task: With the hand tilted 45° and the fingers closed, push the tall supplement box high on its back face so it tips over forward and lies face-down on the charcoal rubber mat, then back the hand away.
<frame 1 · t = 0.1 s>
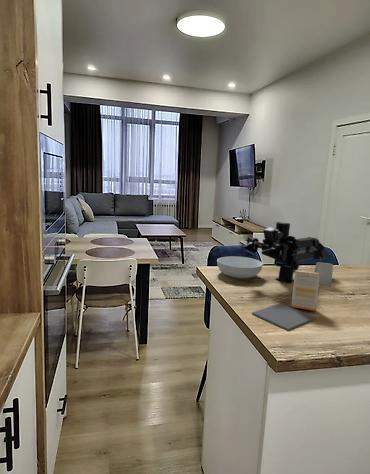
hand: (252, 250, 132), 17 cm above the countertop, tool horizontal, fingers open, 9 cm apart
serving bowl: (238, 276, 154), on the countertop
supplement box: (302, 308, 117), on the countertop
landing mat: (283, 316, 110), on the countertop
grey angular block: (321, 285, 148), on the countertop
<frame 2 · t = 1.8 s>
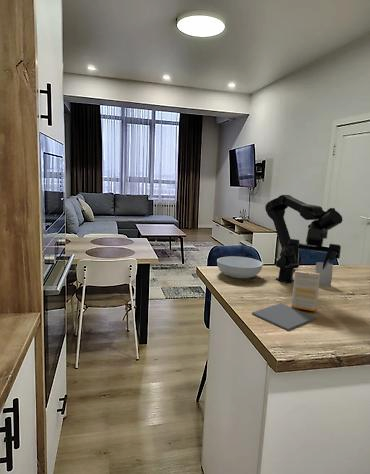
hand: (309, 266, 123), 14 cm above the countertop, tool tilted 45°, fingers open, 9 cm apart
supplement box: (302, 309, 117), on the countertop, touching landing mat
everything else where it was.
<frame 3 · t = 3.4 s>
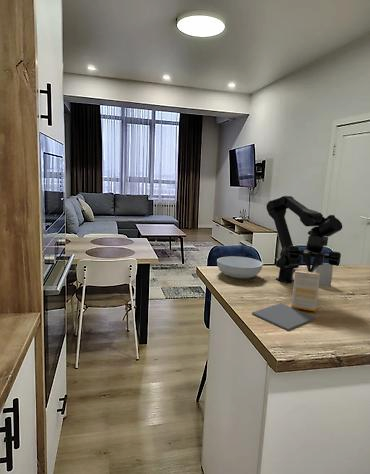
hand: (309, 274, 123), 11 cm above the countertop, tool tilted 45°, fingers closed
nothing on the countertop moved.
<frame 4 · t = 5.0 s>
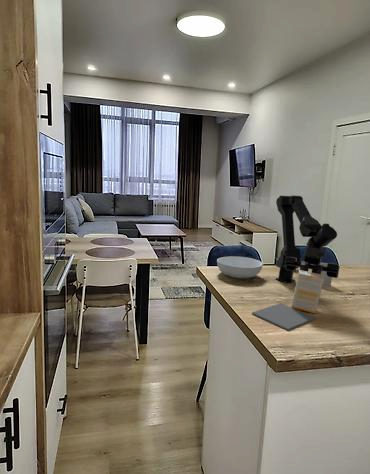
hand: (307, 286, 118), 8 cm above the countertop, tool tilted 45°, fingers closed
supplement box: (302, 308, 117), on the countertop, touching gripper, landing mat
everything else where it was.
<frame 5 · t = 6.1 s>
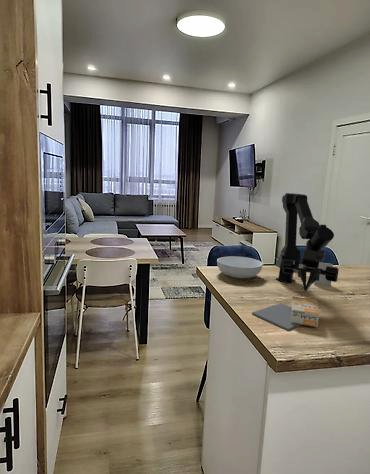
hand: (305, 290, 114), 8 cm above the countertop, tool tilted 45°, fingers closed
supplement box: (303, 303, 115), point 3 cm above the countertop, touching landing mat
everything else where it was.
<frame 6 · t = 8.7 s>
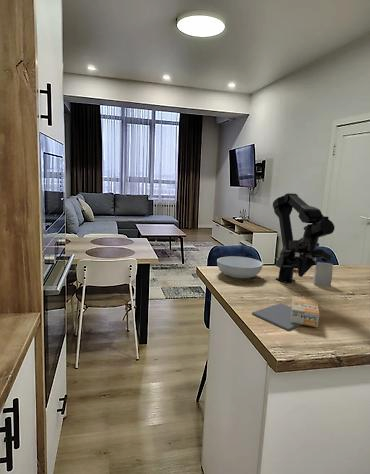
hand: (300, 276, 126), 9 cm above the countertop, tool tilted 30°, fingers closed
nothing on the countertop moved.
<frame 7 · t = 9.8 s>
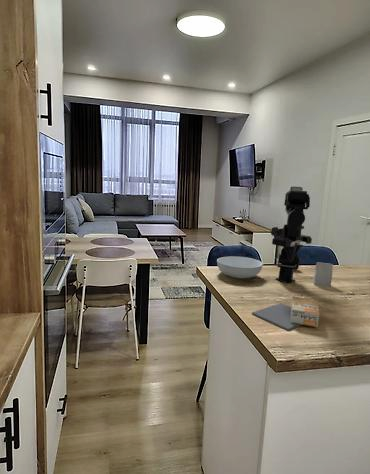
hand: (289, 261, 132), 13 cm above the countertop, tool pointing down, fingers closed
nothing on the countertop moved.
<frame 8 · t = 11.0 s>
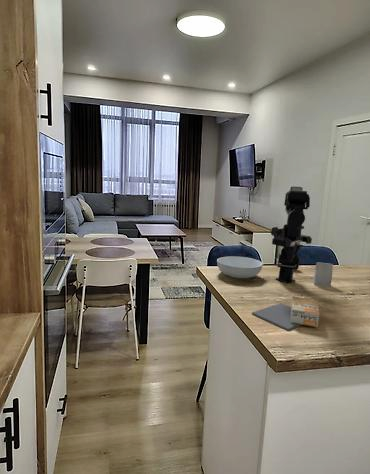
hand: (289, 261, 132), 13 cm above the countertop, tool pointing down, fingers closed
nothing on the countertop moved.
at the end: supplement box tilted 90°; supplement box touching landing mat; supplement box inside the target area (6.6 cm from its centre), point 3.0 cm above the countertop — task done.
